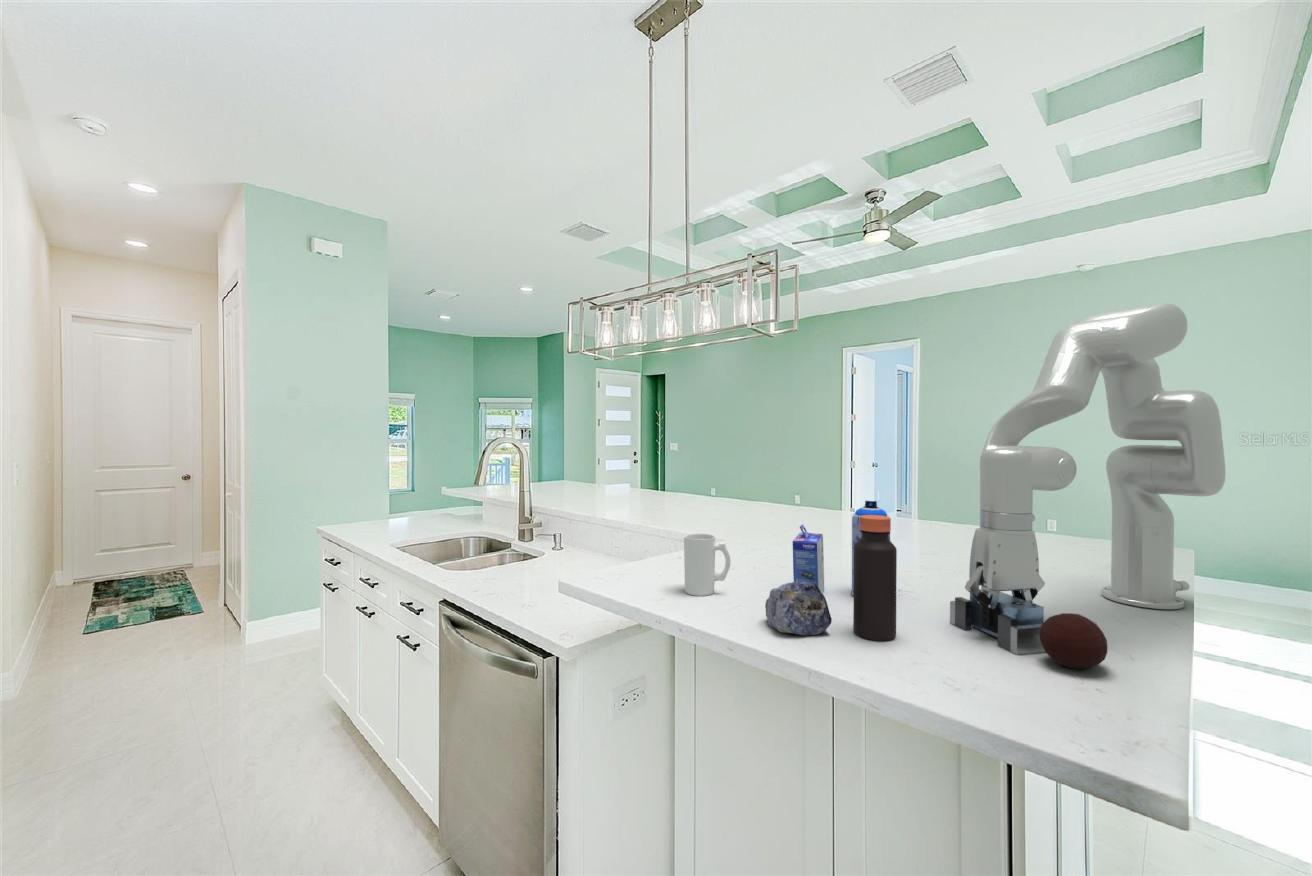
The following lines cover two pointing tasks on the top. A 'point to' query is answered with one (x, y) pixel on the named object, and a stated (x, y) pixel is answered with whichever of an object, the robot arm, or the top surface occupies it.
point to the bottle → (875, 580)
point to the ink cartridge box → (808, 558)
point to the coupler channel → (1001, 629)
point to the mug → (702, 563)
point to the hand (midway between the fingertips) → (1004, 627)
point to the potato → (1073, 641)
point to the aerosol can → (868, 509)
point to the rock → (798, 609)
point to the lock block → (1009, 611)
